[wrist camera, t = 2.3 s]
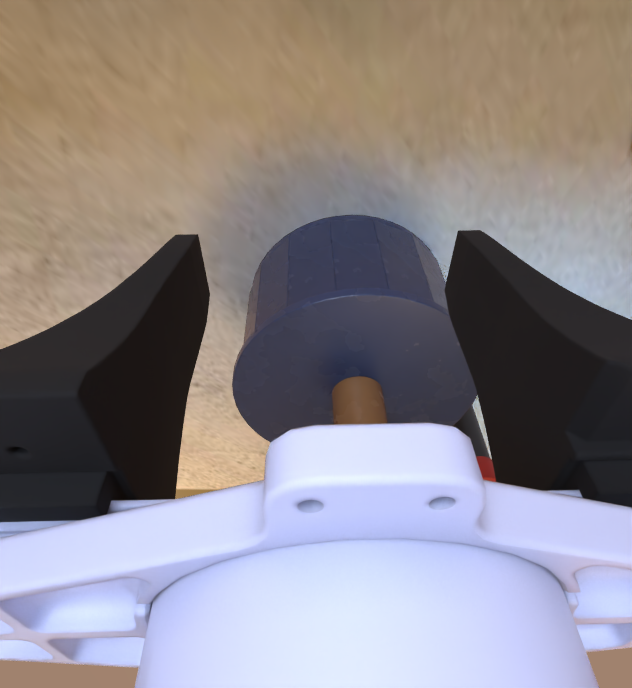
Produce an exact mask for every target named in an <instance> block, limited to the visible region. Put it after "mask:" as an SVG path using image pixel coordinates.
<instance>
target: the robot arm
mask: <svg viewBox="0 0 632 688" xmlns="http://www.w3.org/2000/svg"><path fill="white" fill-rule="evenodd" d="M445 296H446V301H447V306H448V310H449V315H450V319H451V322H452V325H453V328H454V330H455V333H456V336H457V338H458V341H459V344H460V346H461V349H462V352H463V354H464V357H465V359H466V362H467V365H468V367H469V370H470V373H471V375H472V378H473V381H474V384H475V387H476V390H477V394H478V398H479V402H480V406H481V410H482V414H483V418H484V423H485V428H486V432H487V437H488V441H489V446H490V451H491V456H492V462H493V467H494V473H495V478H496V482H493V481H488V480H483V478H482V475H481V471H480V468H479V465H478V462H477V458H476V455H475V452H474V449H473V445H472V442H471V439H470V438H469V437H468V436H467V435H465V434H464V433H463V432H461V431H460V430H458V429H457V428H456V427H453V426H448V425H442V424H435V423H383V424H335V425H312V426H306V427H301V428H295V429H291V430H289V431H287V432H286V433H284V434H283V435H281V436H280V437H278V438H277V439H275V440H274V441H272V442H271V443H270V446H269V448H268V451H267V454H266V459H265V475H264V480H261V481H257V482H252V483H248V484H243V485H239V486H234V487H229V488H225V489H220V490H216V491H211V492H207V493H202V494H198V495H193V496H188V497H184V498H179V499H175V493H176V483H177V473H178V464H179V454H180V446H181V438H182V430H183V423H184V416H185V409H186V402H187V396H188V392H189V387H190V383H191V379H192V375H193V372H194V368H195V364H196V361H197V357H198V353H199V350H200V346H201V342H202V338H203V335H204V331H205V327H206V323H207V315H208V306H209V297H210V292H209V287H208V282H207V277H206V272H205V267H204V262H203V257H202V252H201V247H200V242H199V237H198V234H197V235H175V236H174V237H173V238H172V239H170V240H169V241H168V242H167V243H166V244H165V245H164V246H163V247H162V248H161V249H160V250H159V251H158V252H157V253H155V254H154V255H153V256H152V257H151V258H150V259H149V260H148V261H147V262H146V263H145V264H143V265H142V266H141V267H140V268H139V269H138V270H137V271H136V272H134V273H133V274H132V275H131V276H130V277H128V278H127V279H126V280H125V281H123V282H122V283H121V284H120V285H118V286H117V287H116V288H115V289H114V290H112V291H111V292H110V293H108V294H107V295H105V296H104V297H102V298H101V299H100V300H98V301H97V302H95V303H93V304H92V305H90V306H89V307H87V308H86V309H84V310H82V311H81V312H79V313H77V314H75V315H74V316H72V317H70V318H68V319H66V320H64V321H63V322H61V323H59V324H57V325H55V326H53V327H51V328H49V329H47V330H45V331H43V332H41V333H39V334H37V335H35V336H32V337H30V338H28V339H25V340H23V341H21V342H18V343H16V344H13V345H11V346H8V347H6V348H3V349H0V660H12V661H31V662H49V663H66V664H84V665H102V666H119V667H137V668H139V670H138V675H137V679H136V684H135V688H599V686H598V683H597V680H596V678H595V675H594V672H593V670H592V667H591V664H590V662H589V659H588V656H587V654H586V652H594V651H602V650H611V649H620V648H629V647H632V320H630V319H628V318H625V317H623V316H621V315H618V314H616V313H614V312H611V311H609V310H607V309H604V308H602V307H600V306H598V305H596V304H594V303H591V302H590V301H588V300H586V299H584V298H582V297H580V296H578V295H576V294H574V293H572V292H570V291H569V290H567V289H565V288H563V287H562V286H560V285H558V284H557V283H555V282H554V281H552V280H550V279H549V278H547V277H546V276H544V275H543V274H541V273H540V272H538V271H537V270H535V269H534V268H532V267H531V266H529V265H528V264H527V263H525V262H524V261H522V260H521V259H520V258H518V257H517V256H516V255H514V254H513V253H511V252H510V251H509V250H507V249H506V248H505V247H503V246H502V245H501V244H499V243H498V242H497V241H495V240H494V239H493V238H491V237H490V236H488V235H487V234H485V233H484V232H482V231H480V230H471V231H458V233H457V238H456V242H455V247H454V251H453V255H452V260H451V264H450V268H449V273H448V277H447V281H446V286H445Z"/></svg>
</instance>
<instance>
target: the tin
mask: <svg viewBox="0 0 632 688" xmlns="http://www.w3.org/2000/svg"><path fill="white" fill-rule="evenodd" d="M445 286H446V283H445V281H444V278H443V275H442V273H441V270H440V267H439V265H438V262H437V260H436V258H435V257H434V256H433V255H432V253H431V252H430V250H429V249H428V248H427V246H426V245H425V244H424V243H423V242H422V241H421V240H420V239H419V238H418V237H417V236H415V235H414V234H413V233H411V232H410V231H408V230H407V229H405V228H403V227H401V226H399V225H397V224H395V223H393V222H390V221H387V220H383V219H380V218H376V217H370V216H361V215H345V216H335V217H330V218H324V219H321V220H318V221H314V222H311V223H309V224H306V225H304V226H302V227H300V228H298V229H296V230H294V231H293V232H291V233H290V234H288V235H286V236H285V237H284V238H283V239H281V240H280V241H279V242H278V243H276V244H275V245H274V246H273V248H272V249H271V250H270V251H269V252H268V253H267V254H266V256H265V257H264V259H263V260H262V262H261V263H260V265H259V268H258V270H257V272H256V275H255V278H254V281H253V286H252V288H251V291H250V296H249V304H248V312H247V320H246V328H245V337H244V343H245V342H246V341H247V339H248V338H249V337H250V335H251V334H252V333H253V332H254V331H255V330H256V329H257V328H258V327H259V326H260V325H261V324H262V323H263V322H264V321H266V320H267V319H268V318H270V317H271V316H272V315H274V314H275V313H277V312H279V311H280V310H282V309H284V308H286V307H287V306H289V305H291V304H293V303H296V302H298V301H301V300H303V299H306V298H308V297H312V296H315V295H318V294H322V293H325V292H331V291H336V290H342V289H351V288H385V289H392V290H399V291H404V292H408V293H411V294H415V295H419V296H421V297H424V298H426V299H429V300H431V301H434V302H436V303H437V304H439V305H441V306H443V307H444V308H446V309H448V306H447V301H446V296H445Z"/></svg>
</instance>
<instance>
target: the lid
mask: <svg viewBox="0 0 632 688" xmlns="http://www.w3.org/2000/svg"><path fill="white" fill-rule="evenodd" d="M232 387H233V396H234V399H235V403H236V406H237V408H238V410H239V412H240V414H241V416H242V417H243V418H244V420H245V421H246V422H247V424H248V425H249V426H250V427H251V428H252V429H253V430H254V431H255V432H257V433H258V434H259V435H260V436H262V437H263V438H264V439H266V440H268V441H269V442H272V441H274V440H275V439H277V438H278V437H280V436H281V435H283V434H284V433H286V432H287V431H289V430H291V429H295V428H301V427H306V426H312V425H335V424H383V423H435V424H442V425H448V426H453V425H454V424H455V423H456V422H458V421H459V420H460V419H461V418H462V417H463V415H464V414H465V413H466V412H467V411H468V410H469V408H470V407H471V405H472V404H473V402H474V401H475V398H476V396H477V390H476V387H475V384H474V381H473V378H472V375H471V373H470V370H469V367H468V365H467V362H466V359H465V357H464V354H463V352H462V349H461V346H460V344H459V341H458V338H457V336H456V333H455V330H454V328H453V325H452V322H451V319H450V315H449V310H448V309H446V308H444V307H443V306H441V305H439V304H437V303H436V302H434V301H431V300H429V299H426V298H424V297H421V296H419V295H415V294H411V293H408V292H404V291H399V290H392V289H385V288H351V289H342V290H336V291H331V292H325V293H322V294H318V295H315V296H312V297H308V298H306V299H303V300H301V301H298V302H296V303H293V304H291V305H289V306H287V307H286V308H284V309H282V310H280V311H279V312H277V313H275V314H274V315H272V316H271V317H270V318H268V319H267V320H266V321H264V322H263V323H262V324H261V325H260V326H259V327H258V328H257V329H256V330H255V331H254V332H253V333H252V334H251V335H250V337H249V338H248V339H247V341H246V342H245V343H244V345H243V346H242V348H241V350H240V352H239V354H238V356H237V360H236V363H235V366H234V372H233V381H232Z"/></svg>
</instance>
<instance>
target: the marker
mask: <svg viewBox="0 0 632 688" xmlns="http://www.w3.org/2000/svg"><path fill="white" fill-rule="evenodd" d="M453 427H456V428H457V429H458V430H460V431H461V432H463V433H464V434H465V435H467V436H468V437H469V438H470V439H471V442H472V445H473V449H474V452H475V455H476V458H477V462H478V465H479V468H480V471H481V475H482V478H483V480H488V481H493V482H496V478H495V473H494V467H493V462H492V460H491V459H490V456H489V453H488V450H487V447H486V444H485V442H484V439H483V436H482V433H481V430H480V427H479V424H478V421H477V418H476V415H475V412H474V409H473V406H472V405H471V407H470V408H469V410H468V411H467V412H466V413H465V414H464V415H463V417H462V418H461V419H460V420H459V421H458V422H456V423H455V424H454V425H453Z"/></svg>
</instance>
